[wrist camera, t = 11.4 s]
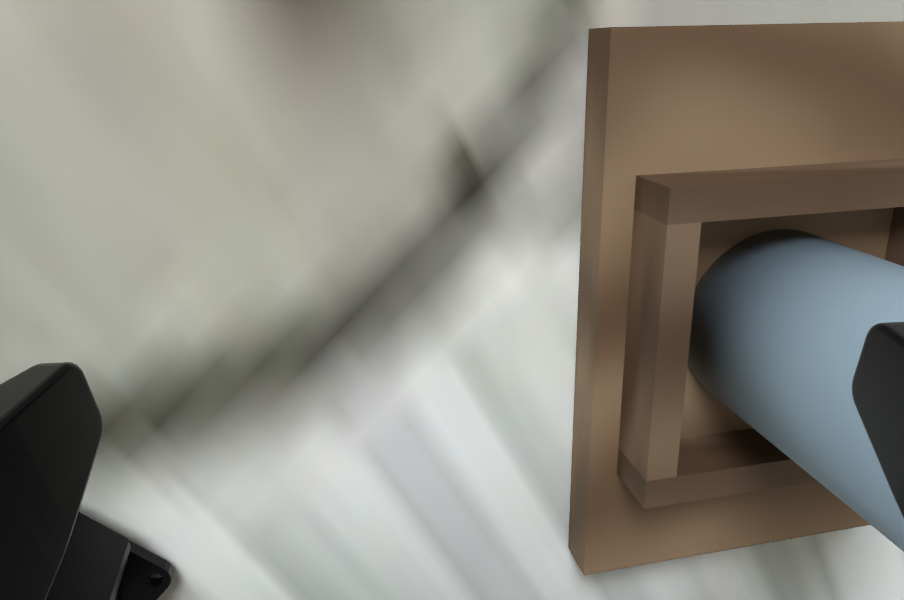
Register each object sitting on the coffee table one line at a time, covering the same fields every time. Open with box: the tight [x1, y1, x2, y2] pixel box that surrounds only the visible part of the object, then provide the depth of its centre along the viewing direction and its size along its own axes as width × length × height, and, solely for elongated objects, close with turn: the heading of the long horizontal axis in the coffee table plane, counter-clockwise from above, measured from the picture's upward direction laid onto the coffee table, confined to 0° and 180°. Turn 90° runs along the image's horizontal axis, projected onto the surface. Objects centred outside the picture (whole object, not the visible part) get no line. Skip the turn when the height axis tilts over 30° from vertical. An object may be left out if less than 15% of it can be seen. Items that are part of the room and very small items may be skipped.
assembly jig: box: [569, 22, 904, 575], centre depth 23 cm, size 18×12×4 cm, turn 2°
